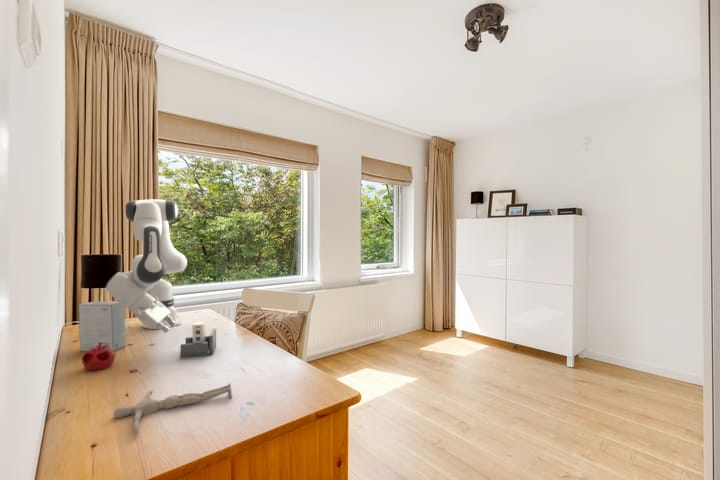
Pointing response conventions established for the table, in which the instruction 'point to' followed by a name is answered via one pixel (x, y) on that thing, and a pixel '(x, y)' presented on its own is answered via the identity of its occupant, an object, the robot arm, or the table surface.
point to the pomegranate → (98, 358)
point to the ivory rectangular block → (198, 332)
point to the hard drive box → (102, 325)
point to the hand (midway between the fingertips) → (171, 327)
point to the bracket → (199, 346)
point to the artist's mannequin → (167, 403)
